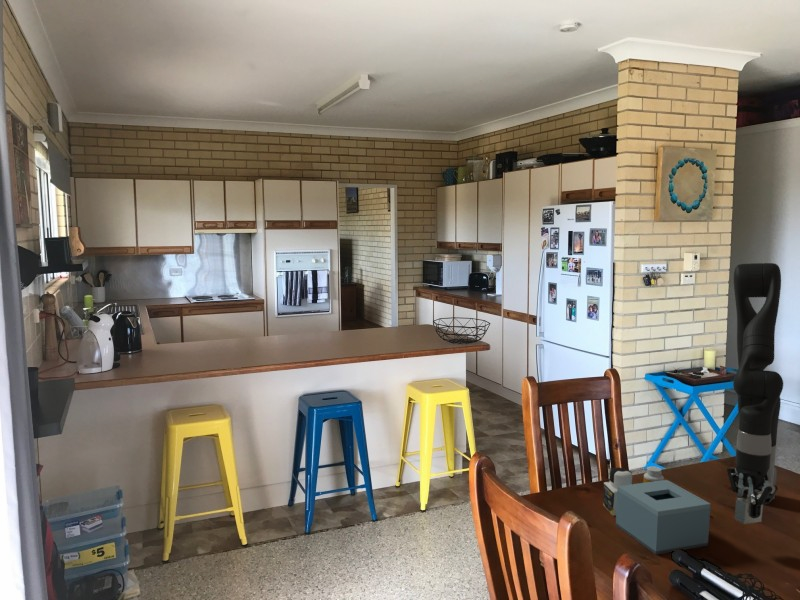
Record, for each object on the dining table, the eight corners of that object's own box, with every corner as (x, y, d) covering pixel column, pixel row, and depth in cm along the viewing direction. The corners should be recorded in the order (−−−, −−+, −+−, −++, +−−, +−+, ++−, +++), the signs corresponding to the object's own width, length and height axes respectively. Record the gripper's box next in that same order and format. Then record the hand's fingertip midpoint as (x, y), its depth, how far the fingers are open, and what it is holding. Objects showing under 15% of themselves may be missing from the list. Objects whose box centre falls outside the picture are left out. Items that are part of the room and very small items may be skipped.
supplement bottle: (655, 507, 183) (656, 473, 182) (638, 500, 188) (640, 467, 187) (666, 503, 186) (668, 469, 185) (649, 496, 191) (651, 463, 190)
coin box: (664, 518, 176) (666, 479, 175) (707, 545, 161) (710, 503, 160) (615, 525, 172) (617, 486, 170) (655, 554, 156) (658, 511, 155)
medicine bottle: (602, 505, 184) (604, 465, 183) (625, 504, 185) (627, 465, 184) (612, 516, 177) (614, 475, 176) (636, 515, 178) (639, 474, 177)
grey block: (751, 516, 161) (753, 495, 160) (761, 521, 158) (763, 500, 158) (734, 518, 159) (736, 498, 159) (744, 524, 157) (746, 503, 156)
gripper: (790, 456, 151) (784, 524, 153) (742, 437, 164) (738, 500, 166) (765, 460, 149) (760, 529, 151) (719, 440, 162) (715, 504, 164)
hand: (748, 514), depth 159 cm, fingers closed on grey block, 2 cm apart
